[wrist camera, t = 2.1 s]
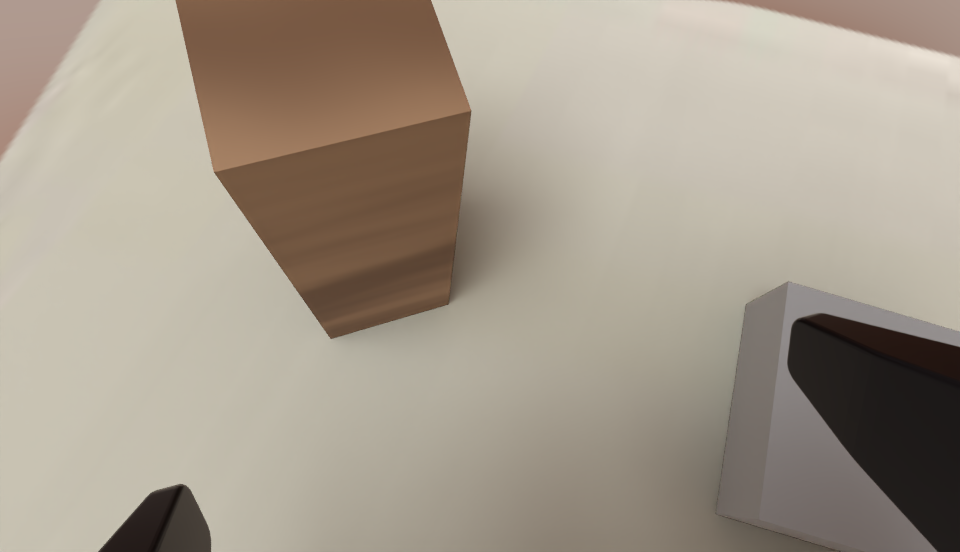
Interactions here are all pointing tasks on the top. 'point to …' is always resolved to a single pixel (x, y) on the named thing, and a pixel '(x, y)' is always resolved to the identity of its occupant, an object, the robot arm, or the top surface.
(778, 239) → the top surface
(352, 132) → the walnut block
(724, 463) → the plinth
